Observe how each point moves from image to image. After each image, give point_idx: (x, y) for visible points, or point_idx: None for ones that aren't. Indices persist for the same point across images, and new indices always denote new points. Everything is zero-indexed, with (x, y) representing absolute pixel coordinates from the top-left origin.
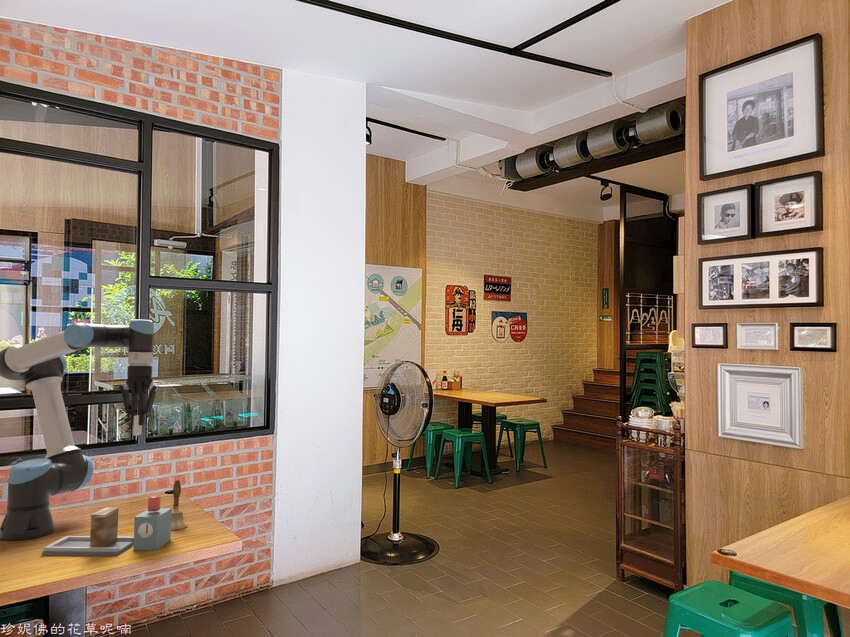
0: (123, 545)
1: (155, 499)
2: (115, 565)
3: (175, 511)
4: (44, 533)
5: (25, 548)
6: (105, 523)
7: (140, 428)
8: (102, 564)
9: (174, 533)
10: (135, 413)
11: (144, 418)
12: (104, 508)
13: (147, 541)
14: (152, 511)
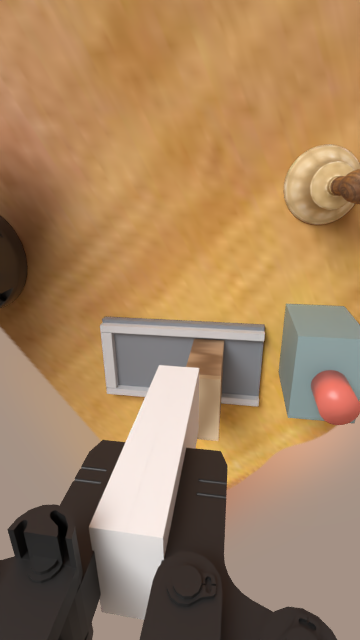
0: (252, 366)
1: (347, 420)
2: (278, 444)
3: (338, 202)
4: (24, 276)
5: (53, 352)
6: (219, 420)
7: (192, 424)
8: (251, 438)
9: (339, 251)
10: (84, 624)
11: (224, 520)
12: None
13: None
14: (319, 371)
